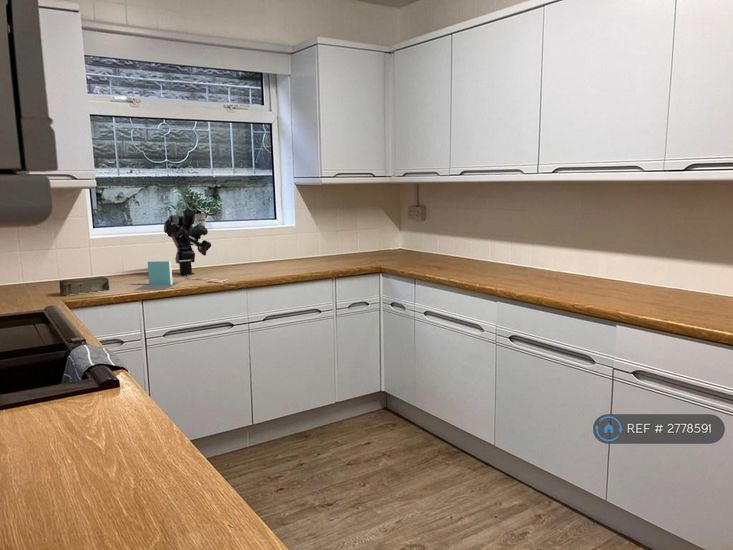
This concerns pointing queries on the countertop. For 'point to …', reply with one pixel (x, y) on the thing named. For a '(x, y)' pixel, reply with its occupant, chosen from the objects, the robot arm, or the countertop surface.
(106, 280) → the beverage carton
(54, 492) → the countertop surface
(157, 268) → the tile
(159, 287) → the mat
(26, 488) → the countertop surface
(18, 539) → the countertop surface
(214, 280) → the turner
